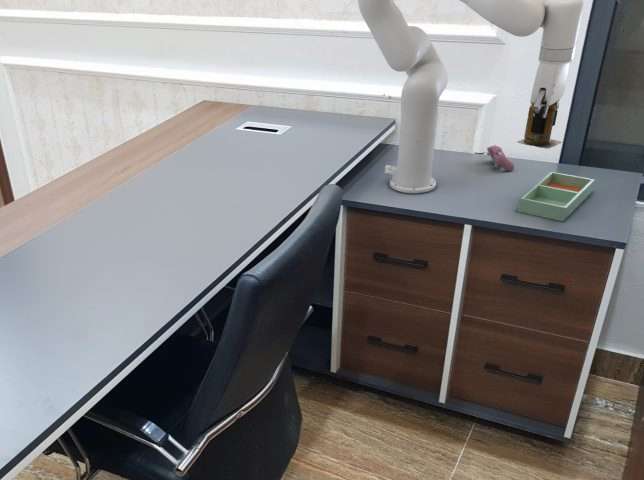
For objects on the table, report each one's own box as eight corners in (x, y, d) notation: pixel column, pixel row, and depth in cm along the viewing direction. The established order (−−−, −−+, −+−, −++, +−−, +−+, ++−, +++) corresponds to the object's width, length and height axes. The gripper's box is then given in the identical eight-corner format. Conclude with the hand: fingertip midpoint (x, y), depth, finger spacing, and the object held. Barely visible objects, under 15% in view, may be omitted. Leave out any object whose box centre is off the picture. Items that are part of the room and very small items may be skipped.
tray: (517, 211, 185) (520, 198, 183) (548, 183, 198) (551, 171, 196) (563, 221, 179) (566, 208, 177) (591, 192, 192) (595, 179, 190)
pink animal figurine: (489, 165, 216) (482, 145, 213) (504, 157, 215) (497, 137, 212) (500, 177, 208) (492, 157, 205) (516, 169, 207) (508, 149, 203)
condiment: (531, 135, 187) (540, 88, 181) (563, 142, 181) (572, 94, 175) (515, 143, 184) (523, 95, 177) (546, 150, 178) (556, 101, 171)
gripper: (553, 45, 178) (540, 117, 188) (525, 61, 168) (513, 136, 178) (585, 47, 174) (570, 121, 184) (559, 64, 164) (544, 141, 173)
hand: (542, 128), depth 181 cm, fingers closed on condiment, 6 cm apart
